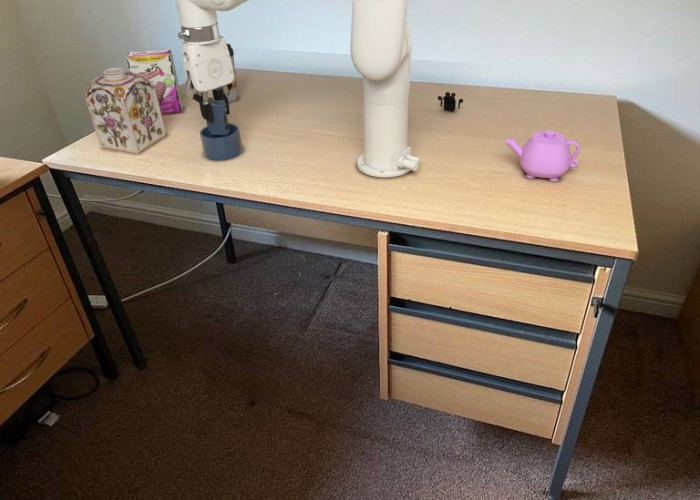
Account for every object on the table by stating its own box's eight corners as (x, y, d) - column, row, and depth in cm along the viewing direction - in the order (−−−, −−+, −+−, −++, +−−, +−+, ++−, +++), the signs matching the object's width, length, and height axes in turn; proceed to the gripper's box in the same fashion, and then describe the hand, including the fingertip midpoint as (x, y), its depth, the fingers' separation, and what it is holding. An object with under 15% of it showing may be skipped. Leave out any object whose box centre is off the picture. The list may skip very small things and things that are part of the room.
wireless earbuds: (462, 111, 144) (464, 92, 141) (460, 114, 142) (461, 96, 140) (437, 107, 147) (438, 89, 144) (434, 111, 145) (435, 92, 142)
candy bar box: (141, 117, 149) (124, 56, 140) (143, 110, 153) (127, 51, 144) (182, 113, 151) (169, 53, 141) (184, 106, 155) (170, 47, 145)
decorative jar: (99, 148, 133) (75, 75, 123) (131, 130, 142) (111, 60, 132) (138, 155, 130) (117, 80, 119) (168, 135, 138) (151, 64, 128)
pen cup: (250, 150, 129) (246, 128, 126) (220, 164, 124) (215, 142, 121) (226, 141, 134) (222, 120, 131) (196, 153, 129) (192, 132, 126)
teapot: (575, 188, 109) (585, 145, 104) (499, 179, 113) (505, 137, 108) (575, 165, 117) (584, 124, 112) (504, 157, 121) (510, 118, 116)
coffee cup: (247, 97, 159) (239, 44, 150) (227, 106, 154) (218, 52, 145) (226, 92, 163) (217, 41, 154) (206, 101, 157) (195, 48, 149)
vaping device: (228, 135, 125) (219, 84, 118) (206, 134, 126) (196, 83, 119) (232, 131, 127) (223, 80, 120) (211, 130, 128) (201, 79, 121)
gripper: (177, 45, 106) (196, 132, 117) (243, 27, 116) (255, 109, 127) (156, 39, 110) (176, 124, 121) (222, 22, 120) (234, 102, 131)
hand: (216, 115), depth 124 cm, fingers closed on vaping device, 4 cm apart
